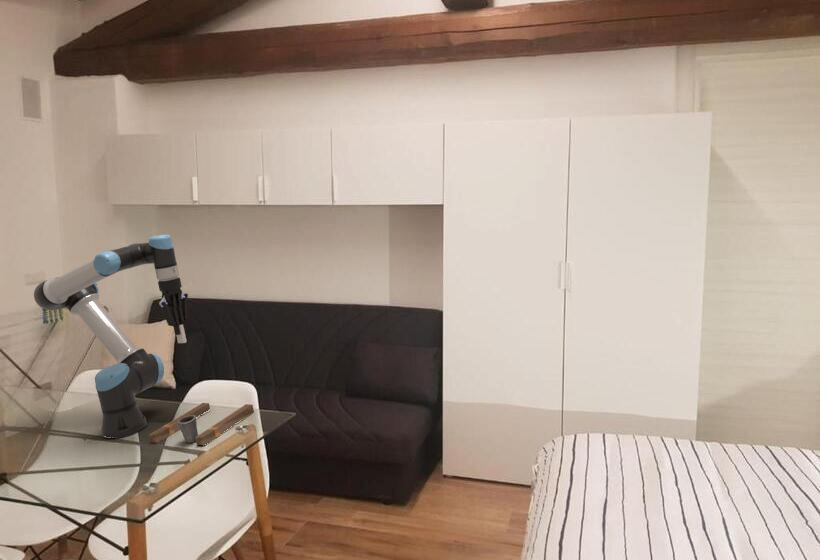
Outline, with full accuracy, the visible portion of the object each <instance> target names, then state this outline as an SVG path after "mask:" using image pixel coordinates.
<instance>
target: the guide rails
mask: <svg viewBox="0 0 820 560" xmlns="http://www.w3.org/2000/svg"><path fill="white" fill-rule="evenodd" d="M209 409H210V410H211V406H210V402H202V403H200V404H198V405H196V406H195V407H193V408H191V409H190V410H188V411H187V412H185V413H183V414H181V415H180V416H178V417H176V418H174V419H173V420H171V421H169V422H168V423H166V424H165V425H163V426H161V427H160V428H158V429H157V430H155V431H153V432H151V433H149V439H150V440H149V441H150V443H151V444H159V443H160V442H162V441H163V440H165V439H167V438H168V437H170V436H172V435H174V434H175V433H177V432H178V431H181V429H180V427H179V425H178V423H177V421H178V420H179V419H181V418H183V417H185V416H189V415H195V416H196V417H198V416H199V415H201V414H203V413H204V412H206V411H208V410H209ZM253 412H254V413H255V410H254V405H253V404H250V403H248V404H244V405H242V406H241V407H239V408H238V409H236V410H234V411H233V412H232V413H230V414H229V415H226V416H225V417H224V418H223V419H221V420H219V421H218V422H216V423H215V424H213V425H211V426H210V427H208V428H207V429H206V430H204V431H202V432H201V433H200V434H199V433H198V436H196V437H195V439H196V441H195V443H196V446H197V445H205V444H207V443H208V444H210V443H211V442H213V441H215V440H216V439H217V438H218V436H219V435H220V434H222V433H223V432H224V431H226V430H227V429H229V428H230V427H231V426H233V425H234V424H235V423H237V422H239V421H240V420H242V419H243V420H245V419H246V418H248V417H249V416H251V415H252V414H254V413H253ZM244 418H245V419H244ZM243 420H242V421H243ZM239 423H240V422H239ZM233 427H234V426H233ZM230 429H231V428H230ZM230 429H229V430H230ZM227 431H228V430H227ZM227 431H226V432H227ZM224 433H225V432H224ZM224 433H223V434H224ZM223 434H222V435H223ZM220 436H221V435H220ZM220 436H219V437H220ZM216 437H217V438H216ZM215 438H216V439H215ZM212 440H213V441H212ZM210 441H211V442H210ZM209 442H210V443H209ZM208 444H207V445H208ZM205 446H206V445H205Z"/></svg>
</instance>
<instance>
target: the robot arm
mask: <svg viewBox="0 0 820 560" xmlns="http://www.w3.org/2000/svg"><path fill="white" fill-rule="evenodd" d="M174 246H175V245H174V243H173V240H172V237H171V235H169V234H161V235H160V234H158V235H154V236H150V237H149V238H148V242H140V243H137V242H136V243H130V244H127V245H125V246H123V247H120V248H116V249H112V250H104V251H102V252H99V253H98V254H96V255H95V256H94V258H92V259H91V260H88V262H85V263H83V264H81V265H79V266H78V267H75V268H74V269H72V270H71V271H68V272H65V273H64V274H62V275H61V276H58V277H52V278H49V279H47V280H44V281H42V282H39V284H38V285H36V287H35V289H34V290H33V291H34V292H33V299H34V301H35V303H36V305H37V306H38V307H39V308H41V309H44V310H45V311H46V310H47V311H58V310H63V309H65V308H66V309H67V310H68V311H69V312H70V313H71V315H77V316H78V317H79V318H80V319H81V320H82V321H83V322H84V324H85V325H86V326H87V327H88V329H90V331H91V332H92V334H94V335H95V336H96V338H97V339H98V341H99V342H100V343H101V344H102V345H103V347H104V348H105V349H106V350H107V351H108V353H109V354H110V355H111V356H112V357H113V358H114V359H115V362H116V363H115V364H112V365H110V366H109V365H108V366H107V367H105V368H102V369H100V370H99V371H98V372H97V373H96V374H95V376H94V382H95V390H96V392H97V397H98V400H99V404H100V408H101V412H102V420H101V422H102V425H101V429H100V431H101V435H102V434H103V436H106V437H111V438H112V437H114V438H115V437H121V438H124V437H128V436H132V435H134V434H136V433H139V432H140V431H142V430H143V429H144V428H146V426H147V425H148V422H147V419H146V416H145V415H144V413H143V412H142V410H141V409H140V407H139V405H138V403H137V398H136V395H138V394H140V393H142V392H144V391H145V390H147V389H148V390H149V389H150V388H153V387H155V386H156V385H157V384H159V383H160V382H161V381H162V380H163V378H164V375H165V365H164V362H163V360H162V358H161V357H160V356H159V355H157V354H156V353H152V352H151V353H148V352H147V351H146V350H145V349H144V347H137V345H135V343H134V342H133V341H132V339H131V338H130V337H129V335H127V334H126V332H125V331H124V330H123V329H122V328H121V327H120V325H119V324H118V323H117V322H116V321H115V319H114V318H113V317H112V316H111V314H110V313H109V312H108V311H107V309H106V308H105V307H104V306H103V305H102V304H101V302H100V301H99V299H100V295H99V287H98V282H100V281H102V280H104V279H106V278H107V277H110V276H113V275H114V274H116V273H119V272H121V271H124V270H128V269H132V268H135V267H138V266H143V265H149V264H150V265H151V264H153V266H154V271H155V276H156V280H157V281H158V282H157V285H158V289H159V291H160V293H161V300H160V301H158V302H157V306H158V307H159V309H161V312H162V314H163V317H164V319H165V321H166V323H167V326H169V327H173V331H174V334H175V336H176V339H177V344H186V343H187V338H186V337H187V336H186V327H185V325H186V323H187V322H188V298H189V294H188V293H187V292H186V293H185V292H183V290H182V289H181V288H182V282H181V278H180V277H179V276H180V273H179V268H178V267H179V266H178V264H177V263H178V262H177V259H176V253H175V249H174V248H175V247H174ZM103 436H102V437H103ZM115 439H116V438H115Z"/></svg>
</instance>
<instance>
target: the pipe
mask: <svg viewBox="0 0 820 560" xmlns="http://www.w3.org/2000/svg"><path fill="white" fill-rule="evenodd" d="M177 423H178V425H179V427H180V431H181V434H182V435H183V439H184V441H185V443H188V444H190V443H195V442H196V439H195V437H196V436H198V435H199V433H198V427H197V426H198V425H197V419H196V416H195V415H189V416H185V417H183V418H181V419H179V420H178V421H177ZM194 441H195V442H194Z"/></svg>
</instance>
